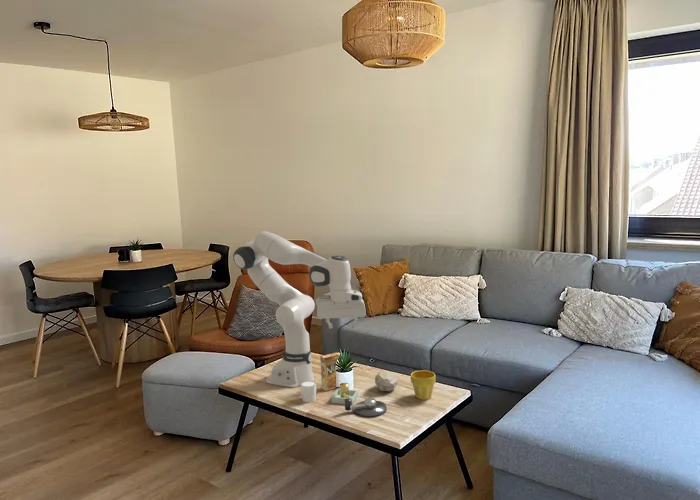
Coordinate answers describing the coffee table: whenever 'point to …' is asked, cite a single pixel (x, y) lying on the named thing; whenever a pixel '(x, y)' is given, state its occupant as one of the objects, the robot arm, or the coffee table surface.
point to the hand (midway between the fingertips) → (342, 327)
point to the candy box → (329, 370)
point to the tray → (336, 398)
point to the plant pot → (423, 383)
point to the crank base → (372, 410)
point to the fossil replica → (385, 381)
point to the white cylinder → (308, 391)
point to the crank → (369, 404)
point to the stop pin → (344, 390)
